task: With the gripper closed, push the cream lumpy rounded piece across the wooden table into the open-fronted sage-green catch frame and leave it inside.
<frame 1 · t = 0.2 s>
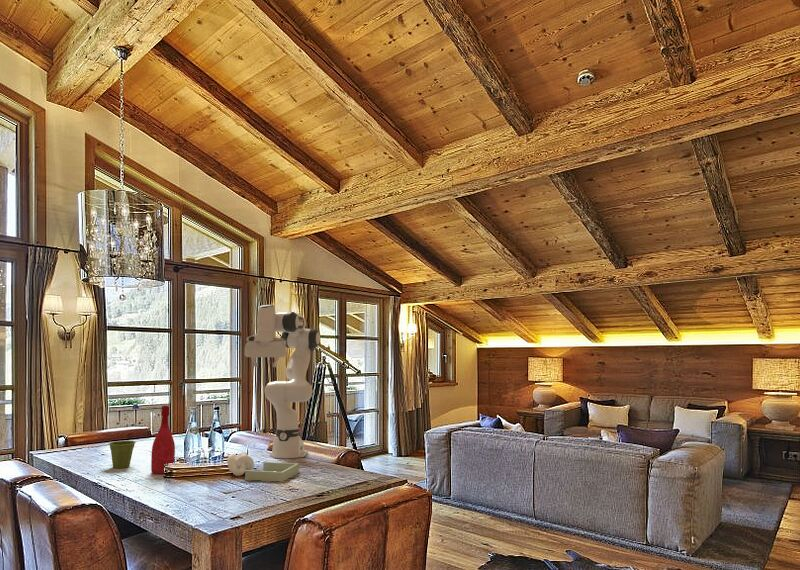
hand: (264, 366, 286), 47 cm above the table, fingers open, 8 cm apart
cream lumpy rounded piece: (238, 475, 268), on the table
plant pot: (121, 467, 282), on the table
wine bottle: (162, 473, 270), on the table
catch frame: (271, 476, 265), on the table
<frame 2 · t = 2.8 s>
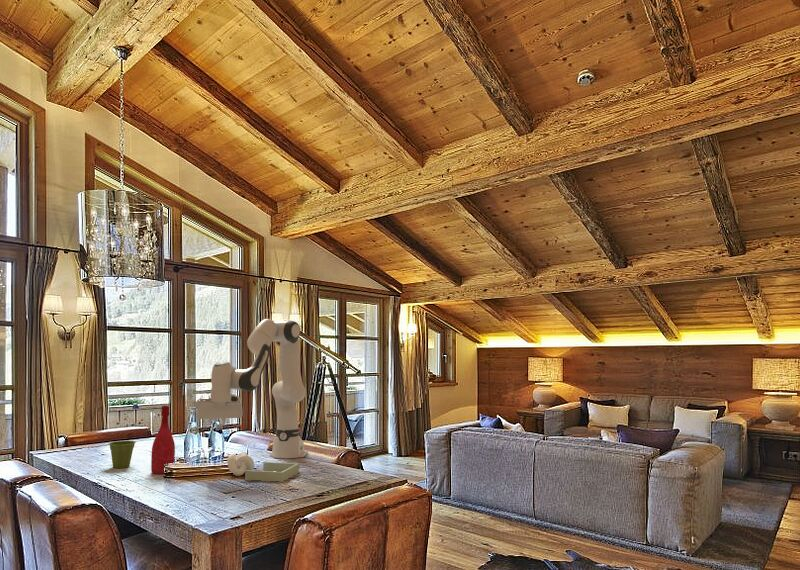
hand: (219, 428, 272), 20 cm above the table, fingers closed
nothing on the table moved.
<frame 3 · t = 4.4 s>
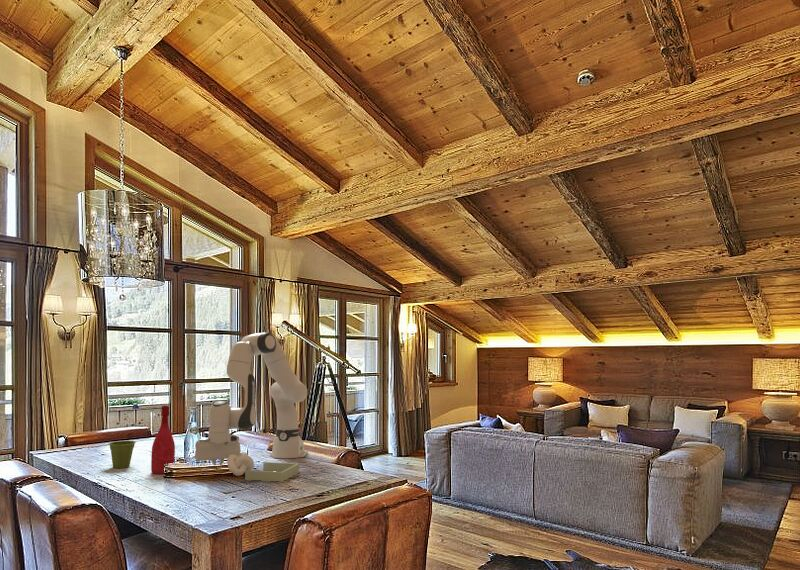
hand: (217, 468, 270), 2 cm above the table, fingers closed
nothing on the table moved.
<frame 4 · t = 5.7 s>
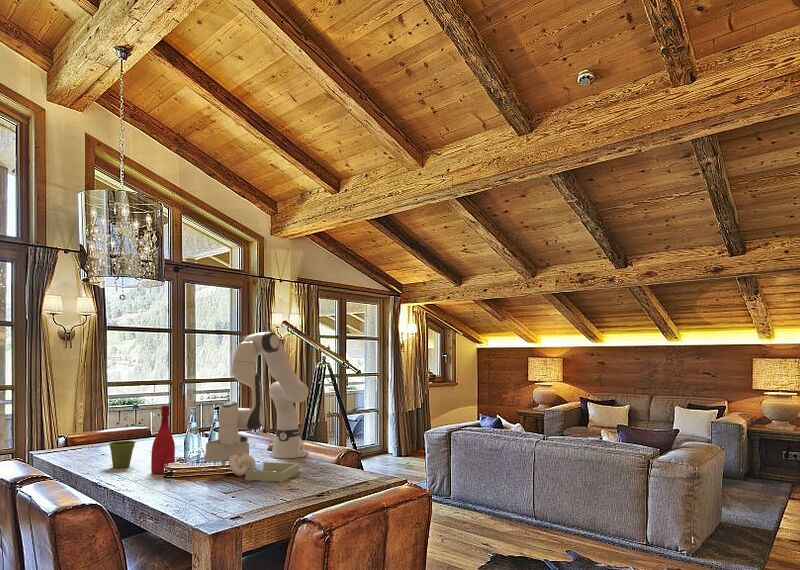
hand: (226, 469, 269), 2 cm above the table, fingers closed
cream lumpy rounded piece: (239, 474, 268), on the table, touching gripper
everything else where it was.
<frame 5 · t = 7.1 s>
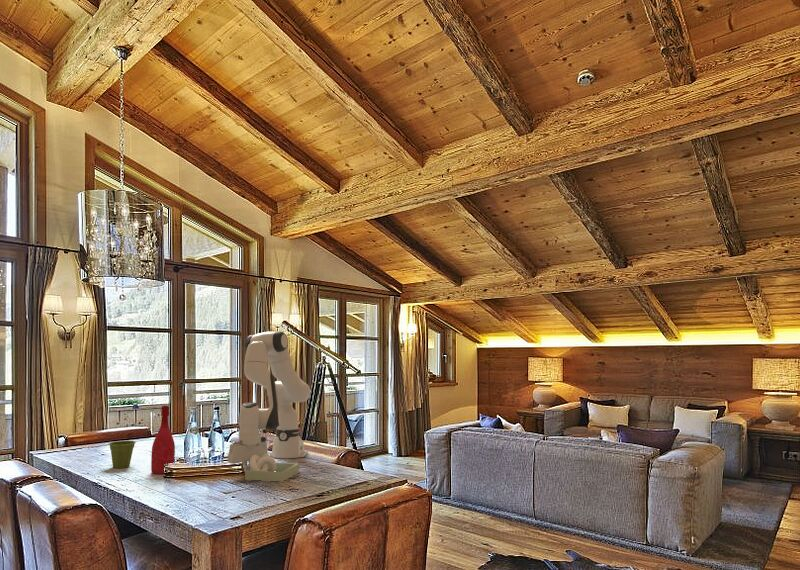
hand: (247, 470, 267), 2 cm above the table, fingers closed
cream lumpy rounded piece: (260, 475, 266), on the table, touching gripper
everything else where it was.
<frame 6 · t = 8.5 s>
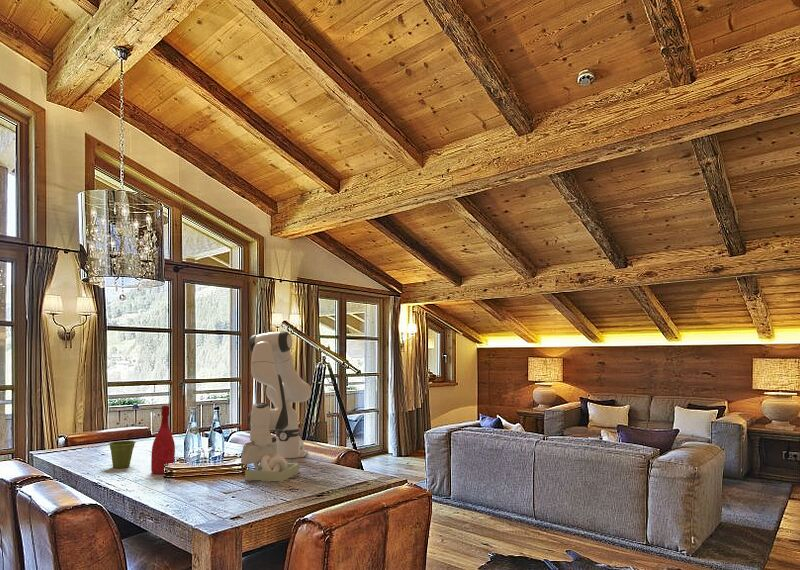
hand: (258, 471, 266), 2 cm above the table, fingers closed
cream lumpy rounded piece: (271, 476, 266), on the table, touching gripper
everything else where it was.
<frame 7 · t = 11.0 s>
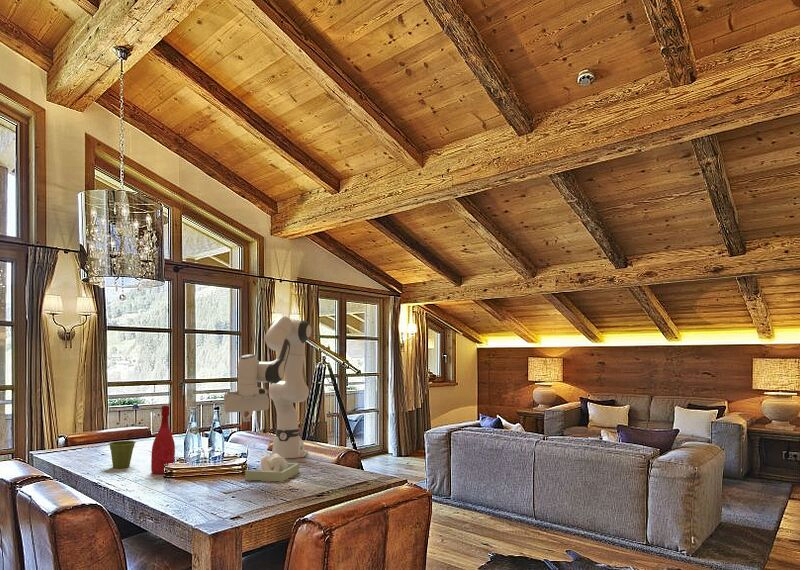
hand: (246, 421, 270), 23 cm above the table, fingers closed
cream lumpy rounded piece: (271, 476, 266), on the table
everything else where it was.
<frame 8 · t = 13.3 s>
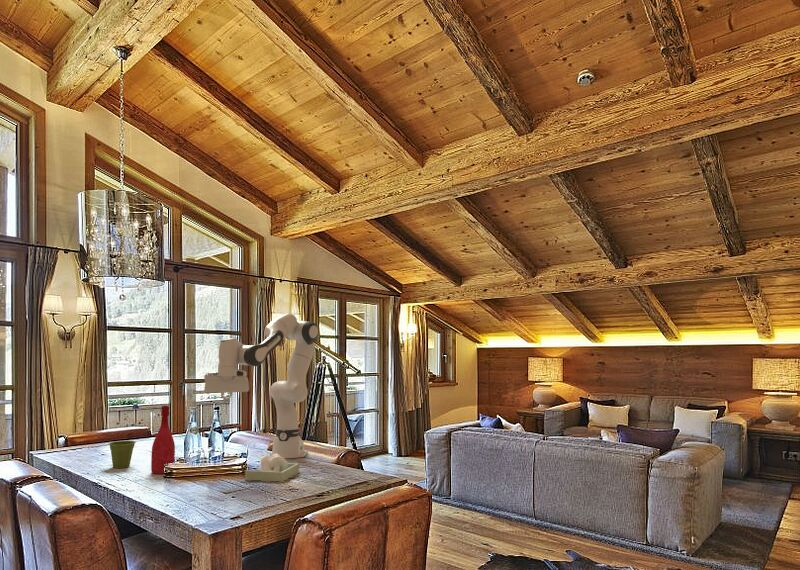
hand: (226, 401, 281), 31 cm above the table, fingers closed
nothing on the table moved.
at the end: cream lumpy rounded piece inside the target area on the catch frame (1.7 cm from its centre), point 0.0 cm above the catch frame's base; cream lumpy rounded piece moved 15.6 cm from its start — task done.
